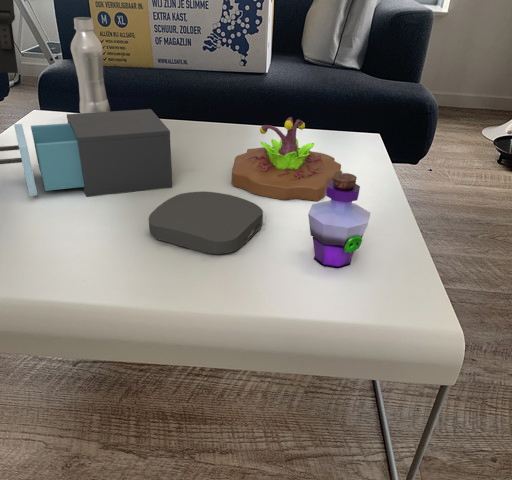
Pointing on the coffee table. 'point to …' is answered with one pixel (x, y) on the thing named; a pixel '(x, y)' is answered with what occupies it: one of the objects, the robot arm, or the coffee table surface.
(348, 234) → the potion bottle
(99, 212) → the coffee table surface
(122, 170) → the cabinet
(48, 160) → the drawer
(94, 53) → the plastic bottle
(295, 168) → the plant
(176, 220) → the media streaming box
